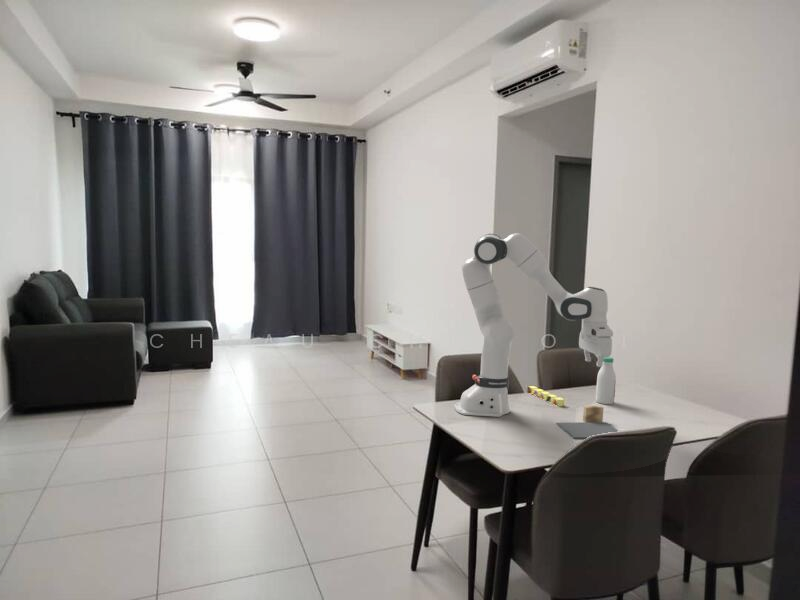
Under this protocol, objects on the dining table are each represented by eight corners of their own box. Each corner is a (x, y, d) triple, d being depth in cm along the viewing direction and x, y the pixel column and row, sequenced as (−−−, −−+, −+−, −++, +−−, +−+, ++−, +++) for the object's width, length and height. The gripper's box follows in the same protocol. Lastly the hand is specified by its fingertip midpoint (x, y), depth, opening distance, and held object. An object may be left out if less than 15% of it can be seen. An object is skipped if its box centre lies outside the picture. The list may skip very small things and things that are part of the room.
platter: (550, 389, 263) (551, 382, 263) (596, 408, 233) (596, 400, 233) (492, 393, 252) (492, 386, 251) (532, 414, 222) (533, 406, 221)
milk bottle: (612, 405, 236) (615, 360, 234) (593, 402, 240) (596, 357, 238) (615, 401, 243) (618, 357, 241) (597, 398, 247) (600, 355, 245)
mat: (574, 438, 193) (574, 437, 193) (556, 424, 209) (556, 422, 209) (627, 438, 195) (627, 436, 195) (606, 423, 211) (606, 422, 211)
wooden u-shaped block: (585, 422, 212) (586, 407, 212) (582, 420, 214) (583, 405, 214) (602, 422, 213) (603, 407, 212) (599, 420, 215) (601, 405, 214)
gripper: (575, 325, 222) (574, 358, 223) (599, 333, 202) (598, 369, 203) (590, 324, 223) (589, 358, 224) (615, 332, 203) (614, 369, 204)
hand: (593, 363), depth 213 cm, fingers open, 8 cm apart
